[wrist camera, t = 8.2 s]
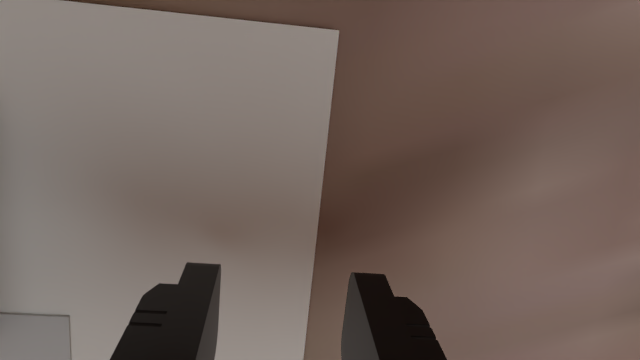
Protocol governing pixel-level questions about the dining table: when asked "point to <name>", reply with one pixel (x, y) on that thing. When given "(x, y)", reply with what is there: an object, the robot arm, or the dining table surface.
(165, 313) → the robot arm
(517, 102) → the dining table surface
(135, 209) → the gauge base
